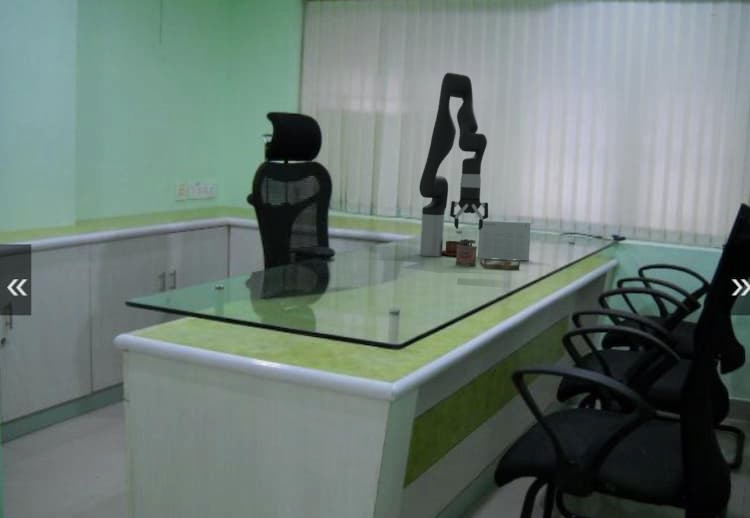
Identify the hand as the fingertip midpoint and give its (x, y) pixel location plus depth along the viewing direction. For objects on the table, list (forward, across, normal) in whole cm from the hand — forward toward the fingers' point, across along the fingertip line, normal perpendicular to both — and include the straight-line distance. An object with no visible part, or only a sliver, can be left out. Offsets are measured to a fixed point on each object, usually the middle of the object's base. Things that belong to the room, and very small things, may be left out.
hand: (468, 229), depth 312 cm
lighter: (+14, 0, 0) cm, 14 cm away
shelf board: (+14, +13, +2) cm, 19 cm away
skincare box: (+14, +18, +30) cm, 38 cm away
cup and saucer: (+14, -2, +34) cm, 37 cm away
